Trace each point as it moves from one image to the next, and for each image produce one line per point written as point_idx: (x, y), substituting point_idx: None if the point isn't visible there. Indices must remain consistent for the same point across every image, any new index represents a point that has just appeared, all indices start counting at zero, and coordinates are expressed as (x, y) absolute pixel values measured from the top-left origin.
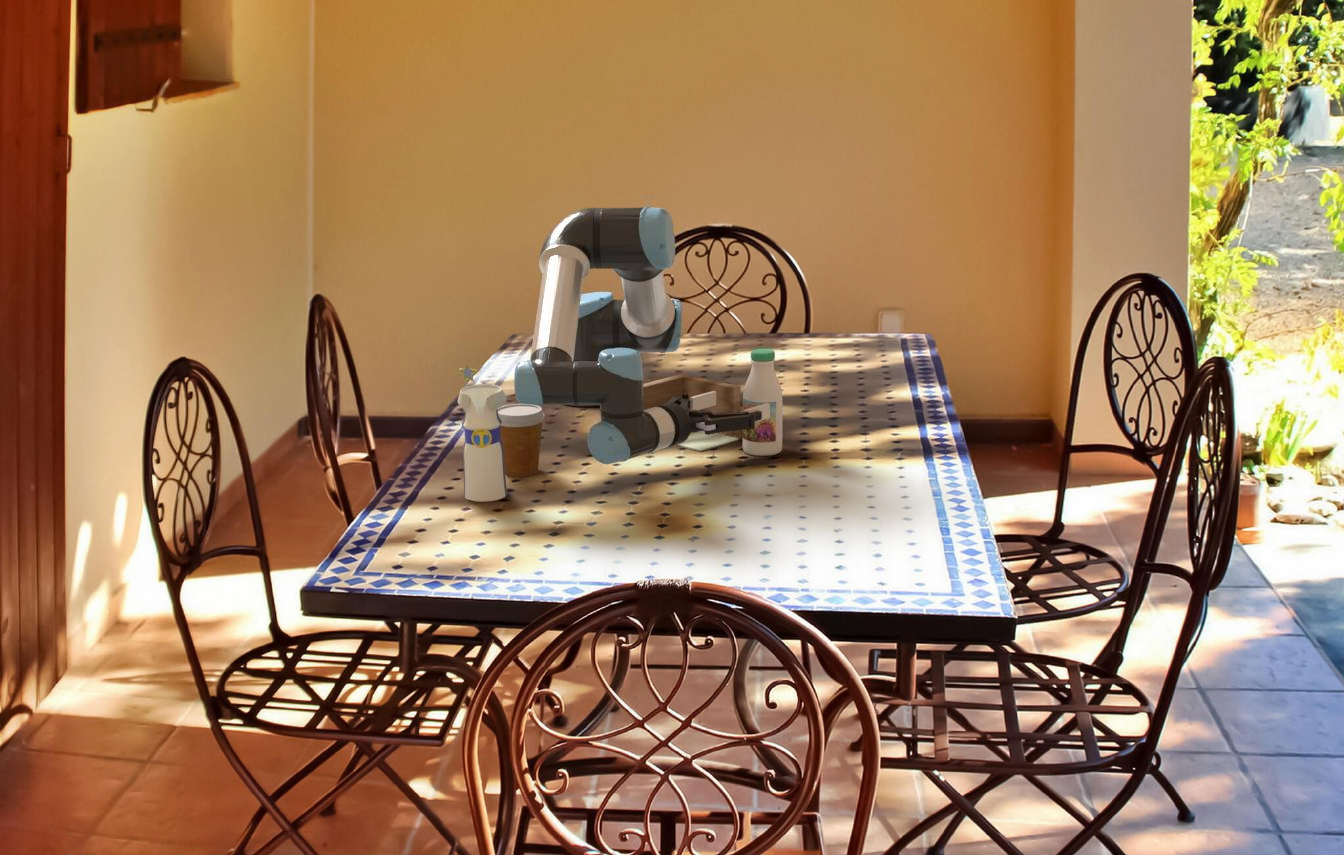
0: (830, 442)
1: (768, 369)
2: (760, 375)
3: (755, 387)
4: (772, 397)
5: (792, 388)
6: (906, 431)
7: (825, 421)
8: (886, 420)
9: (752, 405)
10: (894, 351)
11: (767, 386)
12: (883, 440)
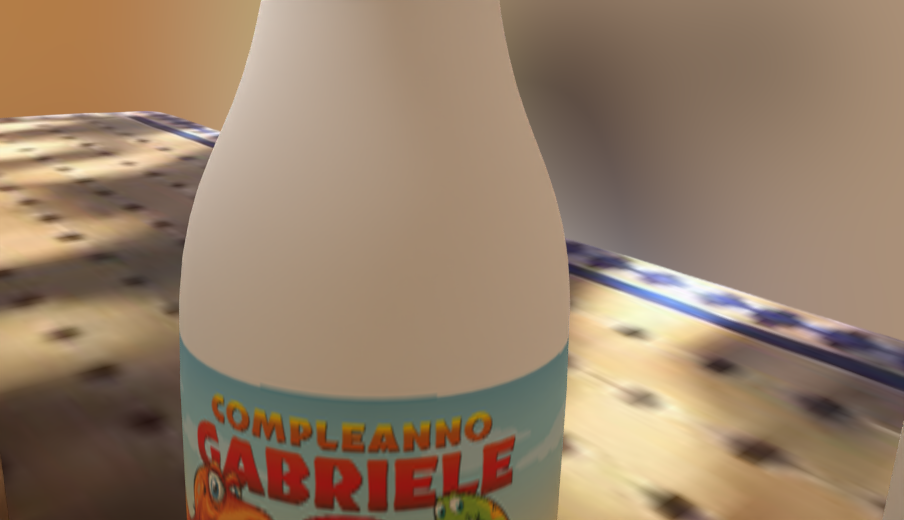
0: None
1: (496, 6)
2: (448, 73)
3: (427, 222)
4: (565, 299)
5: (19, 236)
6: (627, 311)
7: None
8: None
9: (407, 441)
10: (153, 133)
11: (532, 192)
12: (673, 372)
